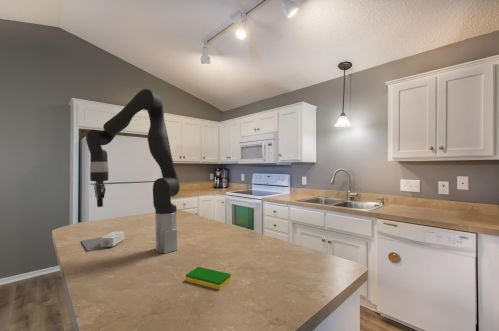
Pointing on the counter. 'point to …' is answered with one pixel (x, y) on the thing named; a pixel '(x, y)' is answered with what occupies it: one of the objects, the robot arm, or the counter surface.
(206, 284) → the dish sponge
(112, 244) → the skincare box
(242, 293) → the counter surface
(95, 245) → the mat
